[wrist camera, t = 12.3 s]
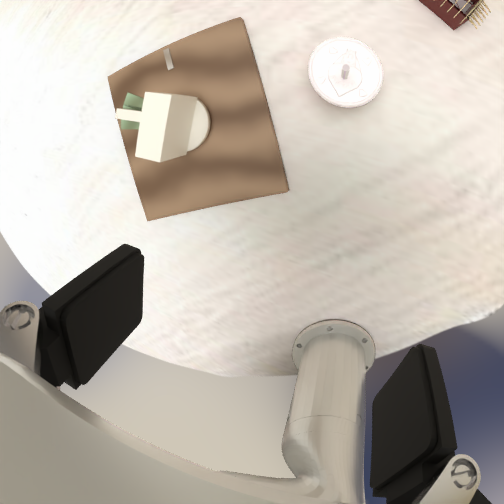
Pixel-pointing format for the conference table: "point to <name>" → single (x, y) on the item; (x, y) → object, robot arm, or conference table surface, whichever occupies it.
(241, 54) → the dial board
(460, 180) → the conference table surface
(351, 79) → the smoothie
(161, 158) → the peg knob
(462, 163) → the conference table surface
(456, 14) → the toy houses
